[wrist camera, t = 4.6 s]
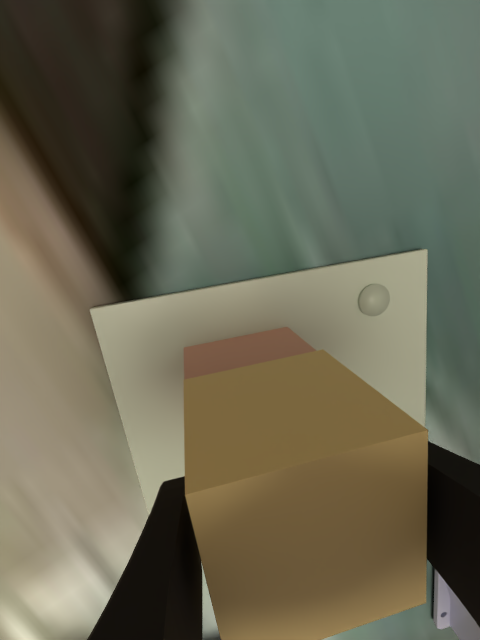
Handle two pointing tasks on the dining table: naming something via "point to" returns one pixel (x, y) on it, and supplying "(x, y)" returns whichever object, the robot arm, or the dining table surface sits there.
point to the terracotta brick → (242, 351)
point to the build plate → (258, 316)
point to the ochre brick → (304, 498)
